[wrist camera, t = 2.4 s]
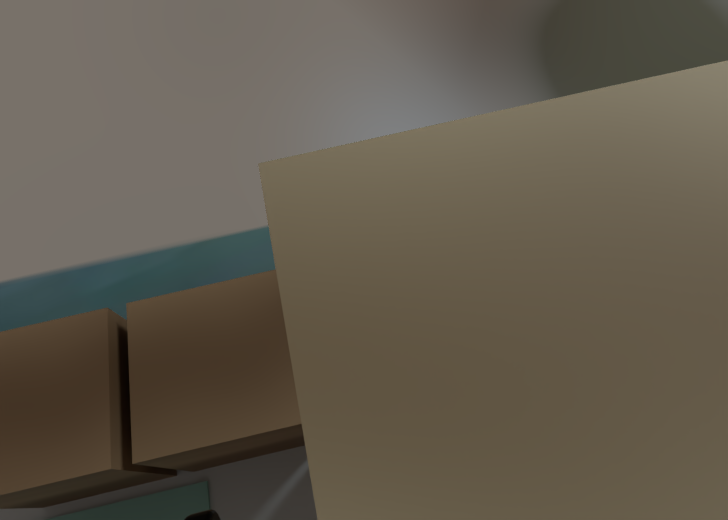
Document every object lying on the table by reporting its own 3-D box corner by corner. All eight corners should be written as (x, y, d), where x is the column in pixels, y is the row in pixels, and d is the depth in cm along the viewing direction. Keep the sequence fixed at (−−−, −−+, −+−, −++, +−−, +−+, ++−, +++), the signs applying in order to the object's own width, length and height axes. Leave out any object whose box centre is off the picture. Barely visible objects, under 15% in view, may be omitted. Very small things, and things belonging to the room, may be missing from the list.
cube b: (324, 440, 16) (303, 422, 12) (193, 471, 16) (132, 463, 12) (302, 316, 18) (277, 269, 14) (183, 343, 18) (126, 303, 14)
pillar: (554, 531, 15) (1198, 664, 3) (395, 570, 15) (377, 888, 3) (502, 372, 17) (760, 54, 5) (360, 405, 16) (258, 163, 5)
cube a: (177, 475, 16) (110, 468, 12) (43, 507, 16) (-65, 510, 12) (168, 347, 18) (107, 307, 14) (46, 375, 17) (-47, 342, 14)
